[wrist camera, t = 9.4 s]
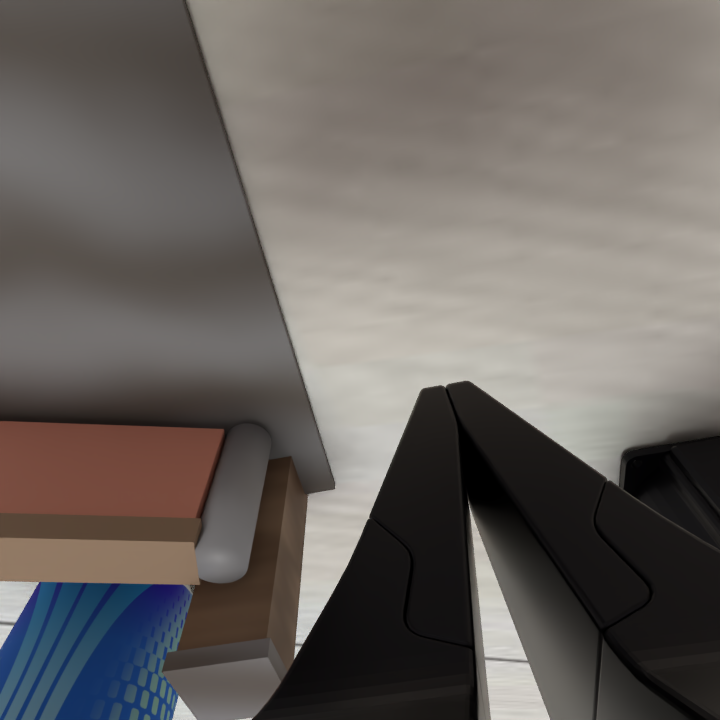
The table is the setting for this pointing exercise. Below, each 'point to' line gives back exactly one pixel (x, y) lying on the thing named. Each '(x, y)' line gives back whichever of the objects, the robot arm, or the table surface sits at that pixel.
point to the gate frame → (150, 296)
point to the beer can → (93, 652)
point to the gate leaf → (129, 502)
